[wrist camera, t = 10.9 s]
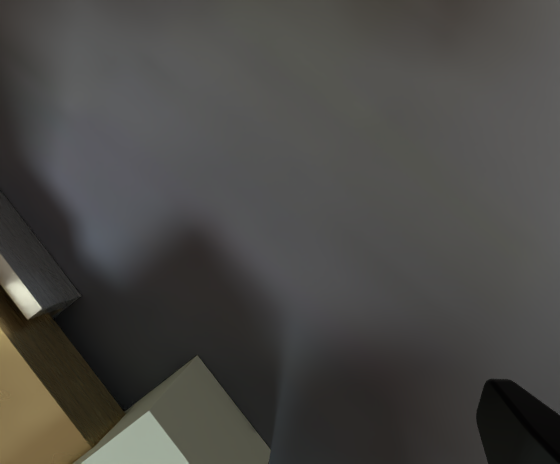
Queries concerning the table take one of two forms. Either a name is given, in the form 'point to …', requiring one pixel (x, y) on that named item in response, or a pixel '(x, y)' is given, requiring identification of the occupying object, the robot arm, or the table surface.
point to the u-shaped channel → (30, 269)
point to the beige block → (47, 393)
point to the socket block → (182, 426)
